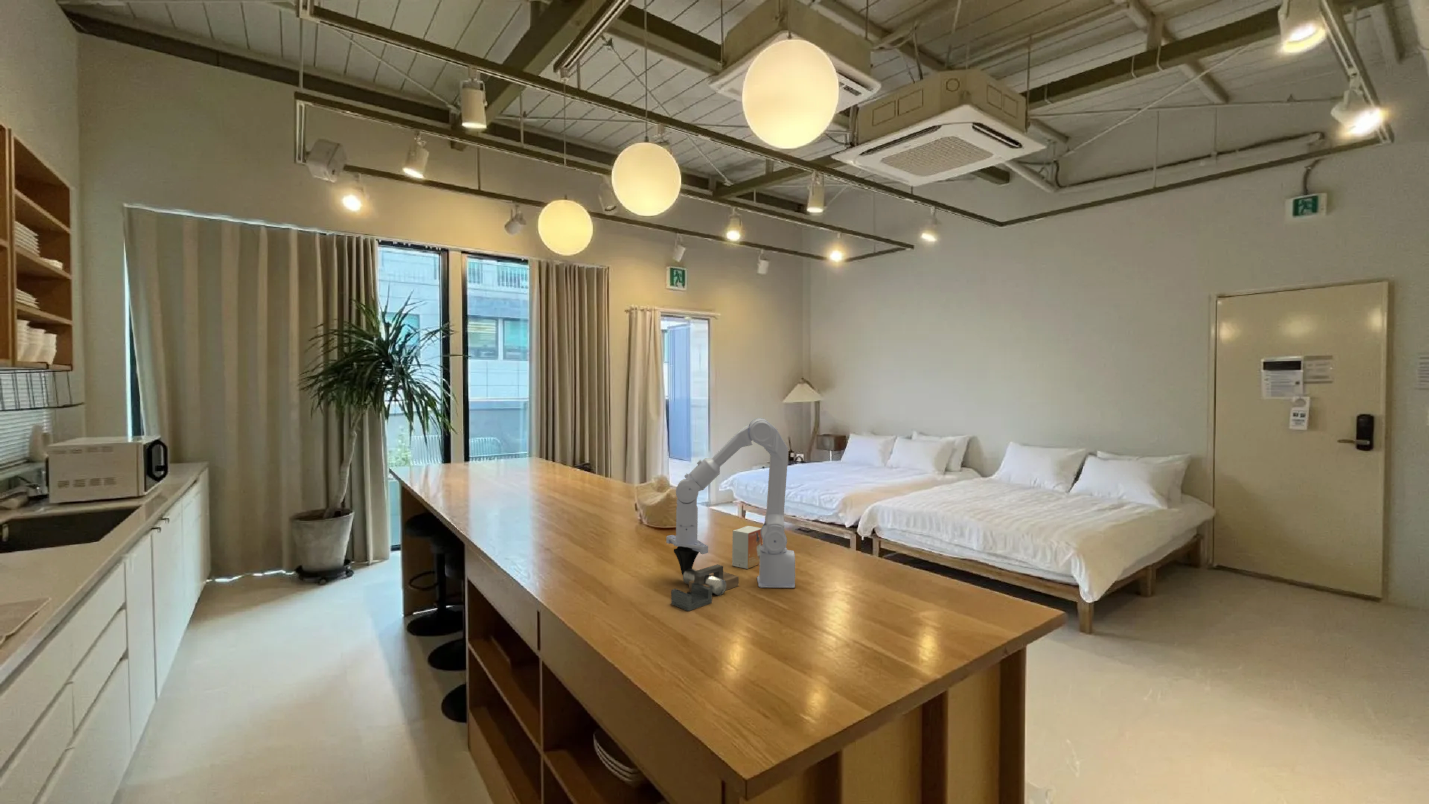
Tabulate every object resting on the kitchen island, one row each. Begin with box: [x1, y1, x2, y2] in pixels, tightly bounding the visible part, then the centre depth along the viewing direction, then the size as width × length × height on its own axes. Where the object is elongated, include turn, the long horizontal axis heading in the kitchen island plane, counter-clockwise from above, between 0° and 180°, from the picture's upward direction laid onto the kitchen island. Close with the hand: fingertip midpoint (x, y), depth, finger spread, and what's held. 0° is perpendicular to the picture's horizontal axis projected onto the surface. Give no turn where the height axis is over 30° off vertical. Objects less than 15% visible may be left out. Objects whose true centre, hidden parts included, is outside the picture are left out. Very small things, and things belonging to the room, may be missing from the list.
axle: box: [682, 568, 727, 596], centre depth 153 cm, size 12×4×4 cm, turn 45°
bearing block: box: [688, 564, 740, 592], centre depth 154 cm, size 6×12×6 cm, turn 135°
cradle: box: [670, 583, 713, 612], centre depth 143 cm, size 6×8×4 cm
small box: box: [731, 525, 763, 570], centre depth 174 cm, size 8×6×10 cm
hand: (686, 574), depth 159 cm, fingers closed
